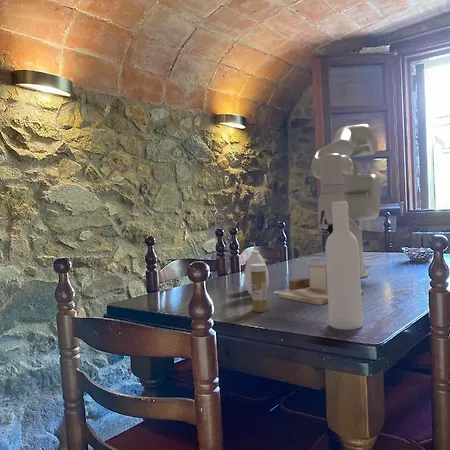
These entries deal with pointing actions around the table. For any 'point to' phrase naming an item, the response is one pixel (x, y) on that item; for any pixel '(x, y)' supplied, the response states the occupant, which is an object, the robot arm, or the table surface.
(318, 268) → the tile
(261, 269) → the sprinkles bottle
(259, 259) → the sauce bottle
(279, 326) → the table surface
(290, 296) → the board
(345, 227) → the bottle
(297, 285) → the scraper
